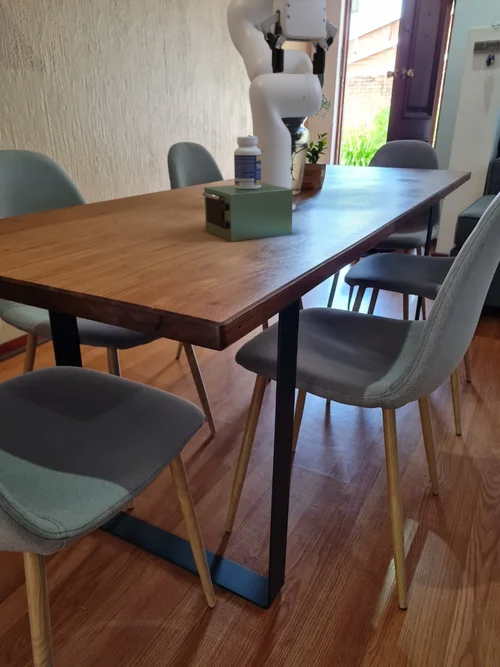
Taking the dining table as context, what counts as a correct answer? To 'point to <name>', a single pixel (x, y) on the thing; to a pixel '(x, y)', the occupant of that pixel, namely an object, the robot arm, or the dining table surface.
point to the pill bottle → (247, 163)
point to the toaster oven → (248, 211)
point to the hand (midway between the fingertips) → (298, 73)
